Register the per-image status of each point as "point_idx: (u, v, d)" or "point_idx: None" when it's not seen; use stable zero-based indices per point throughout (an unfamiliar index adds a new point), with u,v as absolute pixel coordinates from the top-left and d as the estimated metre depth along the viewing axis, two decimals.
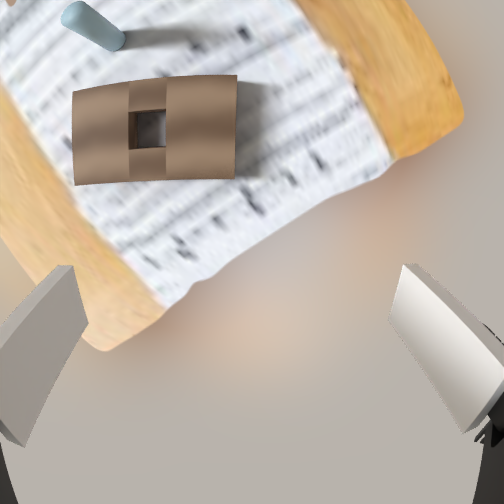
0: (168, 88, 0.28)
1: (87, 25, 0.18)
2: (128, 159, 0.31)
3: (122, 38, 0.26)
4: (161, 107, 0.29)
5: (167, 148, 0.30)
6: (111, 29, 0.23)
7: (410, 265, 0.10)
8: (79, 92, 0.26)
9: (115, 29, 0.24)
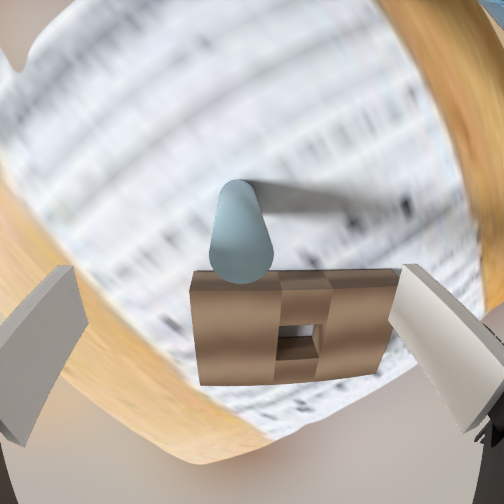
0: (333, 302, 0.25)
1: None
2: (274, 368, 0.28)
3: None
4: (321, 322, 0.26)
5: (320, 358, 0.28)
6: None
7: (410, 265, 0.10)
8: (201, 293, 0.24)
9: None
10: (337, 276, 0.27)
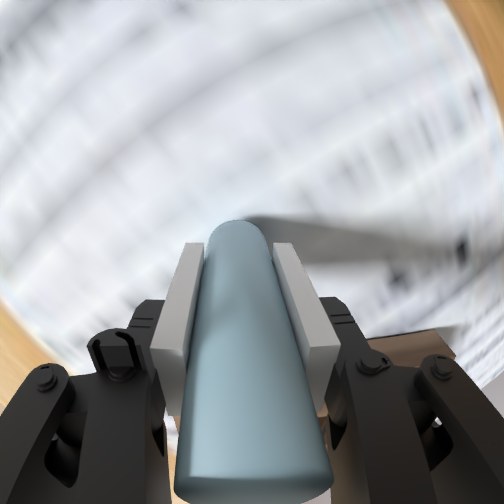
0: None
1: None
2: None
3: None
4: None
5: None
6: None
7: (280, 243, 0.12)
8: None
9: None
10: None
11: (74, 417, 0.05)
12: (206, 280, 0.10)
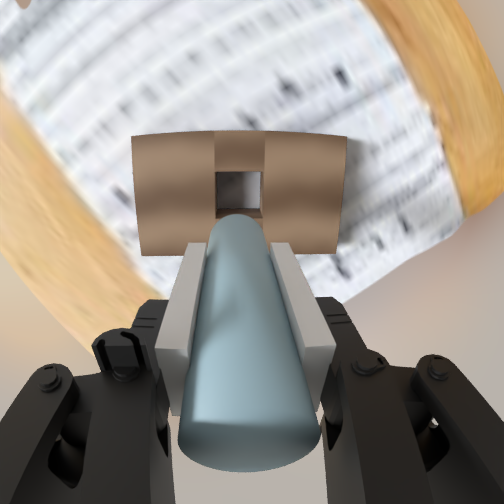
0: (267, 146, 0.25)
1: None
2: None
3: None
4: (258, 169, 0.26)
5: (265, 219, 0.28)
6: None
7: (277, 243, 0.12)
8: (141, 138, 0.24)
9: None
10: None
11: (78, 417, 0.05)
12: (208, 265, 0.11)
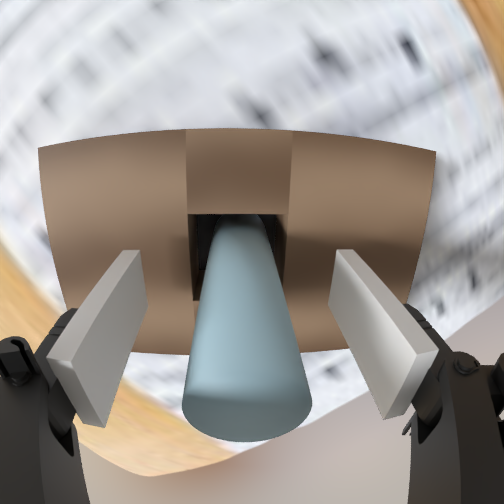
0: (297, 163, 0.12)
1: None
2: (194, 319, 0.15)
3: None
4: (276, 210, 0.13)
5: None
6: None
7: (344, 250, 0.12)
8: (53, 150, 0.11)
9: None
10: None
11: None
12: (213, 254, 0.12)
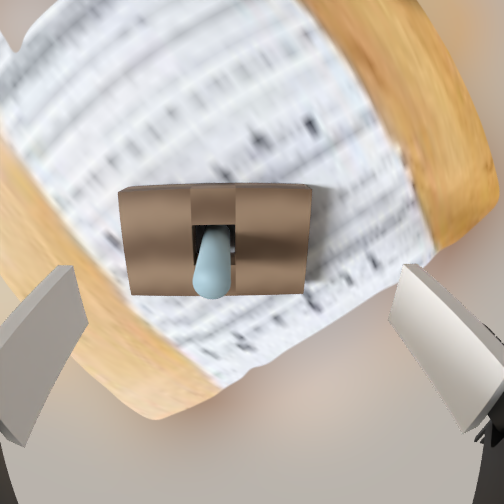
0: (238, 202, 0.29)
1: None
2: None
3: None
4: (230, 223, 0.30)
5: (237, 266, 0.32)
6: None
7: (410, 265, 0.11)
8: (127, 194, 0.28)
9: (229, 243, 0.30)
10: (245, 184, 0.31)
11: None
12: (203, 241, 0.29)
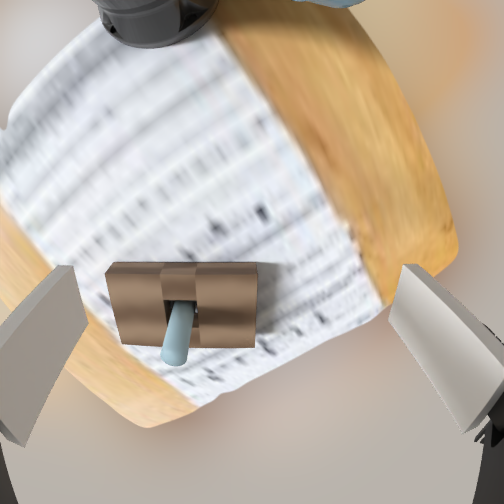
0: (197, 284, 0.37)
1: None
2: None
3: (195, 305, 0.41)
4: (192, 299, 0.37)
5: (200, 328, 0.39)
6: (192, 322, 0.37)
7: (410, 265, 0.10)
8: (112, 275, 0.35)
9: (193, 313, 0.38)
10: (205, 266, 0.38)
11: None
12: (171, 314, 0.36)
